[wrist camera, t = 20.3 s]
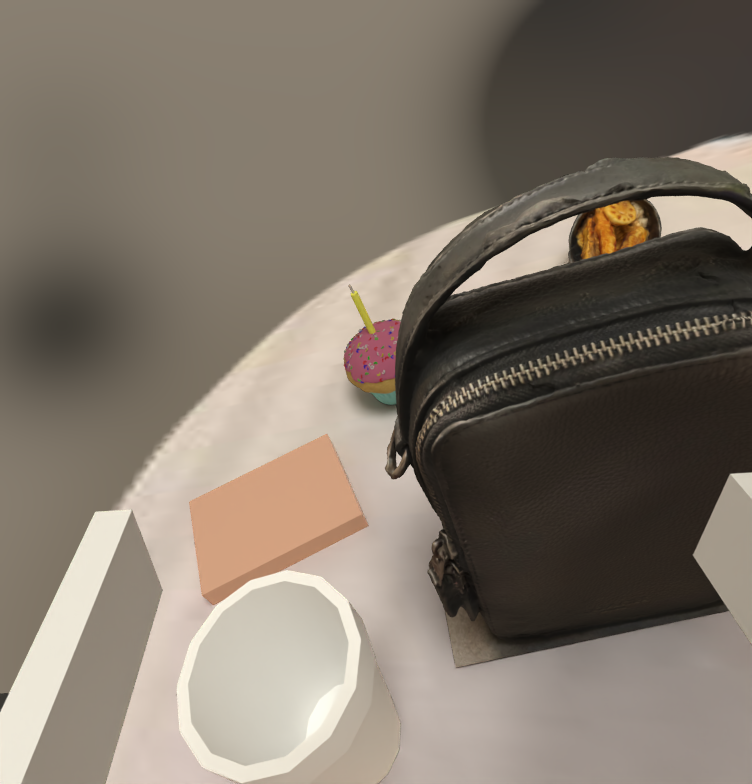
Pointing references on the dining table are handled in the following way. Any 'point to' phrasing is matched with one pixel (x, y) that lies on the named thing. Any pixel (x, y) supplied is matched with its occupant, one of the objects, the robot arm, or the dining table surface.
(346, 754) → the foam cup
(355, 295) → the cupcake
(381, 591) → the dining table surface
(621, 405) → the shoulder bag
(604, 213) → the fried shrimp in bowl
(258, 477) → the tile
